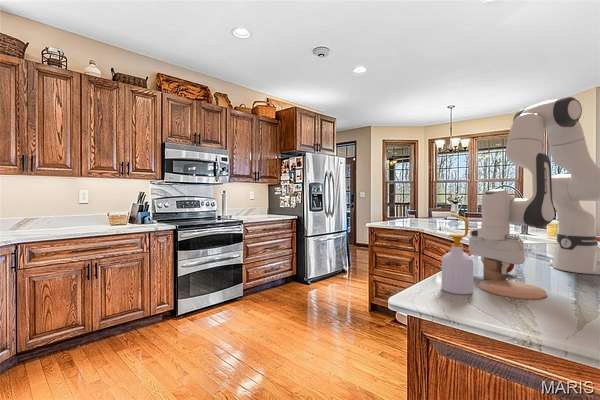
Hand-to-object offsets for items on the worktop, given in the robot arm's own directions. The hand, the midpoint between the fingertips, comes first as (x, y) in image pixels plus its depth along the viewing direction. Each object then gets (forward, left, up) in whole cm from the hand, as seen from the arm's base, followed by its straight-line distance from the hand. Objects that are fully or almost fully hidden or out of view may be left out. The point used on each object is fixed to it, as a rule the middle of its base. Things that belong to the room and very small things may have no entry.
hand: (494, 271), depth 116 cm
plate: (+7, +12, -3) cm, 14 cm away
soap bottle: (+24, +7, -3) cm, 25 cm away
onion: (-10, -4, -3) cm, 11 cm away
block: (0, 0, -3) cm, 3 cm away
